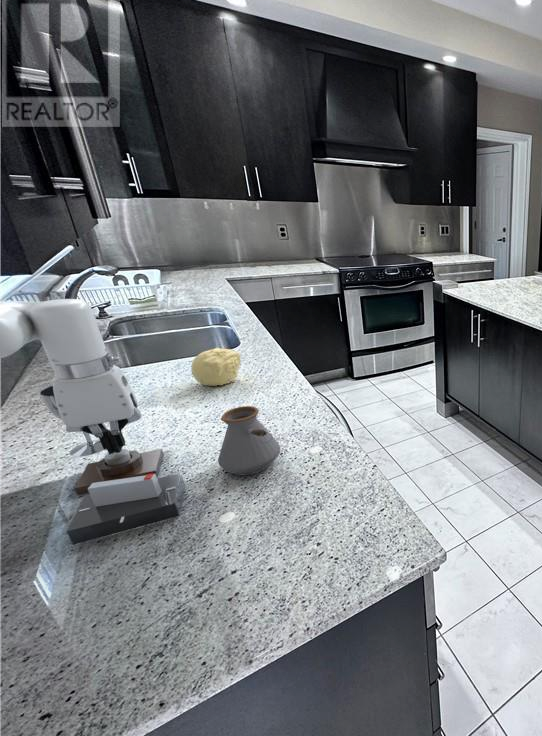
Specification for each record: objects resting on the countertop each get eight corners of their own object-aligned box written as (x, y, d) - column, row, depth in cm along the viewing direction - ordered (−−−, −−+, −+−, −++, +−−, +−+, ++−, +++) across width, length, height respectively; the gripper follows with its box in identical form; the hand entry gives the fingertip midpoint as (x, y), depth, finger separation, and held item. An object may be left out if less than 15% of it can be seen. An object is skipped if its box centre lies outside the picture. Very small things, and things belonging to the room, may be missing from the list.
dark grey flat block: (69, 552, 66) (62, 537, 64) (92, 502, 76) (87, 489, 75) (178, 521, 73) (173, 508, 72) (186, 480, 83) (182, 467, 82)
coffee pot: (214, 463, 88) (197, 402, 83) (271, 443, 96) (259, 387, 91) (246, 513, 75) (228, 445, 70) (309, 485, 83) (298, 422, 78)
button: (105, 468, 80) (102, 461, 80) (109, 459, 83) (106, 451, 83) (129, 463, 82) (126, 456, 82) (132, 454, 85) (130, 447, 84)
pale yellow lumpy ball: (226, 390, 120) (218, 357, 116) (186, 388, 120) (176, 354, 116) (250, 375, 131) (243, 344, 127) (213, 373, 131) (205, 342, 127)
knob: (95, 507, 71) (86, 487, 69) (100, 501, 72) (91, 481, 71) (158, 496, 74) (151, 478, 72) (161, 491, 75) (155, 472, 74)
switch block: (77, 495, 77) (70, 480, 76) (90, 470, 84) (84, 456, 83) (157, 477, 83) (152, 463, 82) (164, 454, 90) (159, 441, 89)
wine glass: (57, 453, 89) (30, 392, 83) (100, 435, 96) (78, 378, 90) (82, 460, 87) (55, 399, 81) (124, 442, 94) (102, 383, 88)
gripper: (140, 354, 81) (166, 432, 89) (33, 366, 74) (71, 450, 81) (132, 367, 76) (160, 449, 83) (15, 381, 68) (58, 471, 75)
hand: (116, 449), depth 82 cm, fingers closed
